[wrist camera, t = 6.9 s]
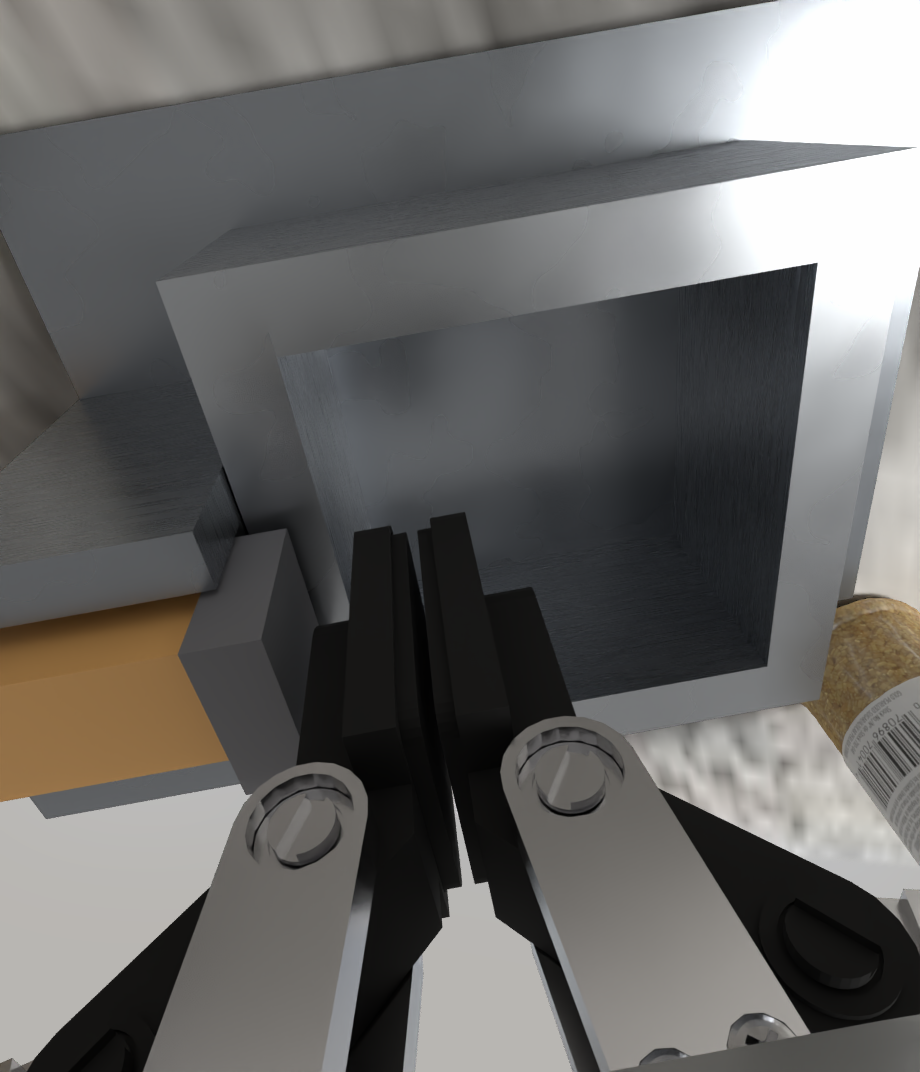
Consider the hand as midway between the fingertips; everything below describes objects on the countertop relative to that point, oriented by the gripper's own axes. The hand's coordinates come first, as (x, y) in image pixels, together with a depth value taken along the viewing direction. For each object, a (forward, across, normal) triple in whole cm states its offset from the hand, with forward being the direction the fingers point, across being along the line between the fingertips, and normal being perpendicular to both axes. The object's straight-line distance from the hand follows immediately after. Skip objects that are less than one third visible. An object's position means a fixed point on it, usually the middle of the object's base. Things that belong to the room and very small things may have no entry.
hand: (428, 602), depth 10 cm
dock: (+7, -2, 0) cm, 7 cm away
